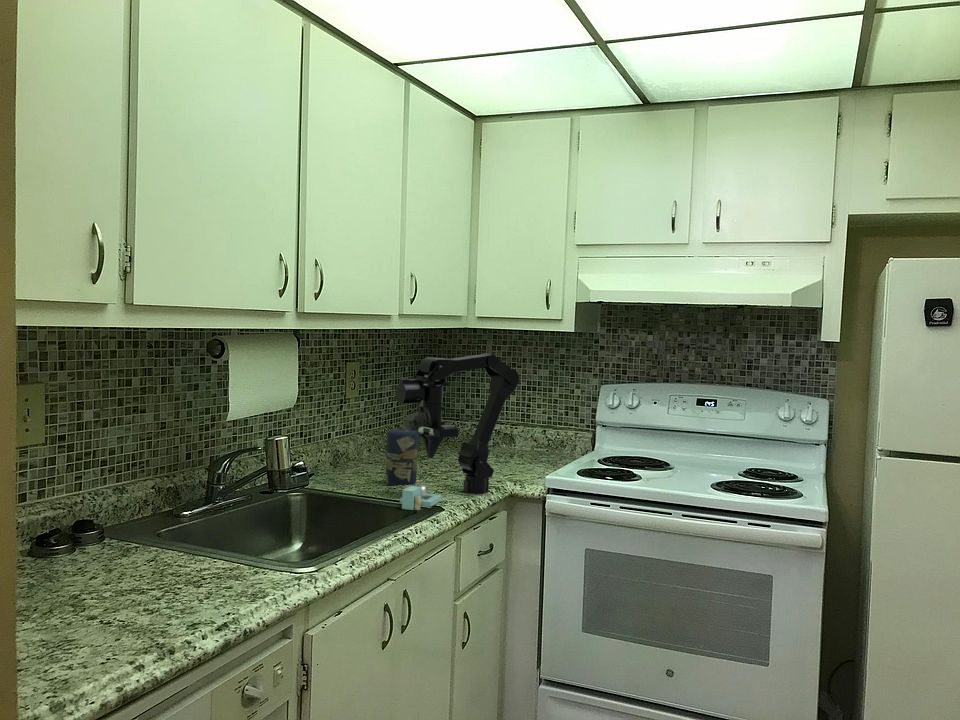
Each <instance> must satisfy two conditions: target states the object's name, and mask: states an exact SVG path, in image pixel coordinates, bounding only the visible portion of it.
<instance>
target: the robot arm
mask: <svg viewBox="0 0 960 720" xmlns="http://www.w3.org/2000/svg"><path fill="white" fill-rule="evenodd" d="M479 369H483V370H484V372H485V374H486V375H487V376H488V377H489V378H490V380H489V396H488V398H487V401H486V403H485V406H484V408H483V411H482V413H481V416H480V419H479V421H478V424H477V426H476V429H475V431H474V433H473V436H472V438H471V439H470V440H469V441H468V442H467V441H462V443H461V447H460V449H459V452H458V453H457V455H458V457H457V462H458V464H459V466H460V468H461V470H462V473H463V474H465V478H464V480H463V490H462V491H463V493H465V494H468V495H471V494H473V495H484V494H486V493H489V490H490V489H489V488H490V484H489V483H490V478H492V477H493V475H494V471H495V470H494V469H493V467H491V465H490V464H489V463H488V459H489V443H490V440H491V439H492V435H493V433H494V430H495V428H496V425H497V422H498V420H499V417H500V415H501V414H502V410H503V407H504V404H505V403H506V400H507V399H508V398H509V397H510V396H511V395H512V394H514V392H515V390H516V389H517V387H518V385H519V383H520V379H521V378H520V375H519V373H518V371H517V370H516V369H513V368H511V367H510V366H509V365H508V364H506V363H505V362H503V361H502V360H501V359H499V357H498V356H496V355H495V354H494V353H487V352H483V353H481V354H475V355H474V354H473V355H468V356H461V357H460V356H459V357H454V358H453V357H452V358H443V357H430V356H429V357H425V358H423V359H422V360H421V363H420V365H419V368H418V369H417V370H416V372H415V374H414V375H413V377H412V378H409V379H406V378H399V383H398V384H397V387H396V389H395V392H394V393H395V399H396V401H397V403H398V404H400V405H403V404H404V405H407V404H420V403H421V405H418V407H417V411H416V412H413V413H409V415H406V416H404V417H403V418H402V423H403V427H405V429H406V430H407V429H408V430H410V431H415V430H416V431H417V432H416V433H417V434H418V437H420V438H421V439H422V441H423V444H424V447H425V450H426V455H427V458H428V459H433V458H434V456H435V454H436V452H437V450H439V449H438V448H439V446H440V445H441V443H442V441H443V440H444V438H453V437H459V436H460V435H459V432H460V430H459V428H458V426H456V425H453V424H446V421H445V420H443V411H446V406H443V399H444V398H443V396H444V388H445V387H447V388H448V387H450V386H451V383H449V382H448V381H447V380H446V378H447V377H450V376H452V375H453V374H455V373H458V372H464V371H465V372H466V371H473V370H479Z"/></svg>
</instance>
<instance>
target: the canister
mask: <svg viewBox="0 0 960 720" xmlns="http://www.w3.org/2000/svg"><path fill="white" fill-rule="evenodd" d="M416 432H418V430H415V431H410V430H408V429H407V430H406V429H405V426H400V427H399V428H392V429H391V428H390V429H389V430H388V431H387V434H386V454H385V455H386V457H385V483H386V484H388V485H390V486H394V487H398V486H414V485H415V484H416V483H417V474H418V473H417V471H418V455H419V454H418V453H419V452H418V450H419V449H418V448H419V447H418V446H419V435H418V434H417V433H416Z"/></svg>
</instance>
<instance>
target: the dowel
mask: <svg viewBox="0 0 960 720" xmlns="http://www.w3.org/2000/svg"><path fill="white" fill-rule="evenodd" d="M421 507H422V506H421V496H415V508H414V511H421Z"/></svg>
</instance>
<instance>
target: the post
mask: <svg viewBox="0 0 960 720" xmlns="http://www.w3.org/2000/svg"><path fill="white" fill-rule="evenodd" d="M415 486H416V487H421V499H423V500H427V494H428V485H426V484H425V485H424V484H416V485H415Z"/></svg>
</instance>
